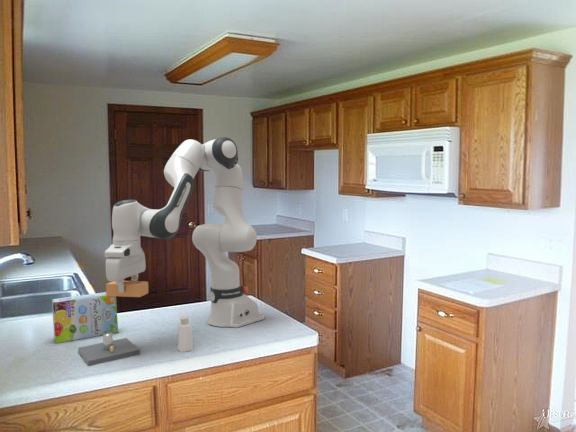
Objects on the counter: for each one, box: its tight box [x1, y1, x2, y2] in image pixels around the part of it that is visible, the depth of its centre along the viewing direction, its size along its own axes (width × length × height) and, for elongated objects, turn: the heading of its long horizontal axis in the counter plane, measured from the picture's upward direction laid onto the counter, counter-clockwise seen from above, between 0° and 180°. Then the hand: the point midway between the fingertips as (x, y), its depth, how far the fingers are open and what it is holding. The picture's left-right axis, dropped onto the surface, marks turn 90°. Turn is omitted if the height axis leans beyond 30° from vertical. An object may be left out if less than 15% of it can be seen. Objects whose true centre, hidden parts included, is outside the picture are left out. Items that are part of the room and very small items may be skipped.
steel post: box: [102, 332, 114, 350], centre depth 161 cm, size 3×3×6 cm
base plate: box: [77, 337, 140, 366], centre depth 162 cm, size 16×14×2 cm
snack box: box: [51, 291, 119, 344], centre depth 178 cm, size 21×6×15 cm, turn 119°
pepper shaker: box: [176, 315, 194, 353], centre depth 164 cm, size 5×5×11 cm
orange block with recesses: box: [105, 280, 149, 298], centre depth 163 cm, size 12×6×4 cm, turn 79°
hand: (127, 289), depth 163 cm, fingers closed on orange block with recesses, 6 cm apart
